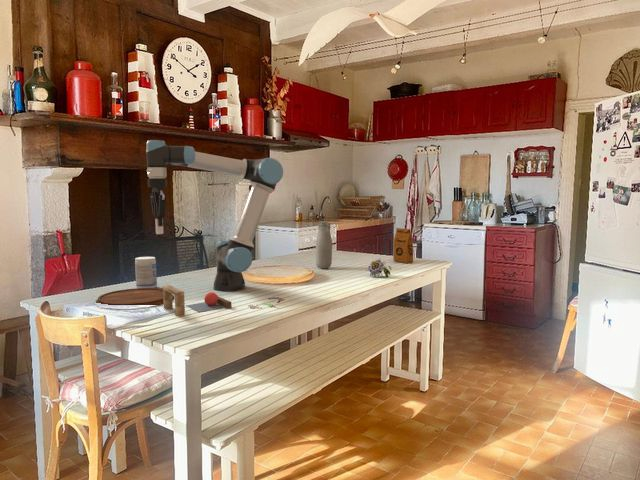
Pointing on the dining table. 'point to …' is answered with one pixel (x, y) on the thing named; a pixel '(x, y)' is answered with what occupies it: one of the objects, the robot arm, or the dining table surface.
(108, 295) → the cutting board
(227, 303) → the kerb
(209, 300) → the ball
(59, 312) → the dining table surface
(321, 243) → the grey bottle
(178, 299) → the bridge
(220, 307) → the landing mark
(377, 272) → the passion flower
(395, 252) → the coffee package
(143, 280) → the supplement tub
